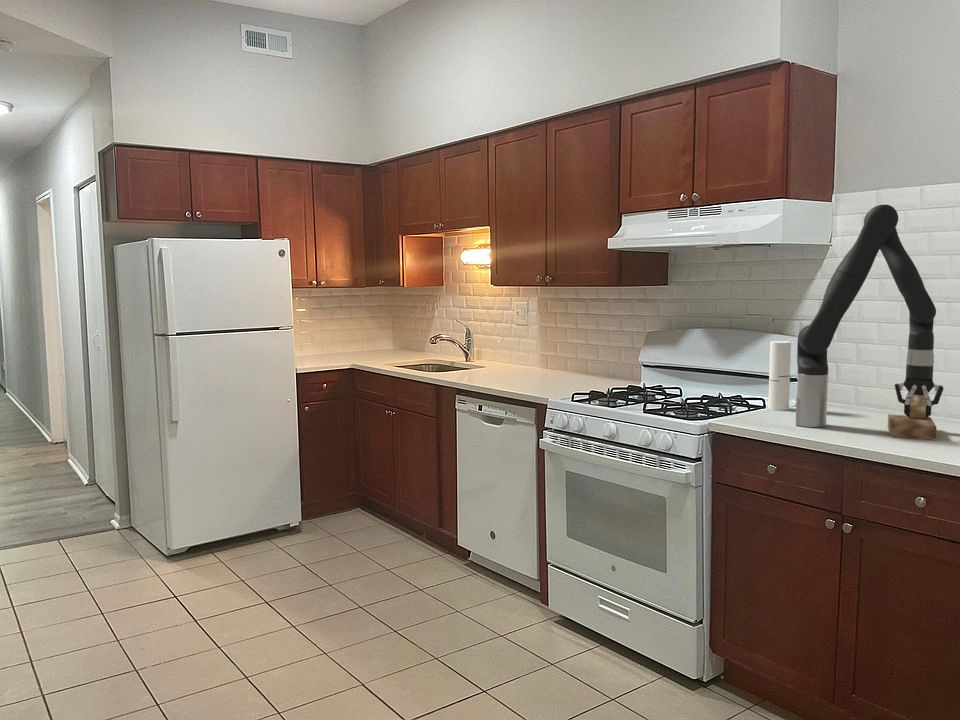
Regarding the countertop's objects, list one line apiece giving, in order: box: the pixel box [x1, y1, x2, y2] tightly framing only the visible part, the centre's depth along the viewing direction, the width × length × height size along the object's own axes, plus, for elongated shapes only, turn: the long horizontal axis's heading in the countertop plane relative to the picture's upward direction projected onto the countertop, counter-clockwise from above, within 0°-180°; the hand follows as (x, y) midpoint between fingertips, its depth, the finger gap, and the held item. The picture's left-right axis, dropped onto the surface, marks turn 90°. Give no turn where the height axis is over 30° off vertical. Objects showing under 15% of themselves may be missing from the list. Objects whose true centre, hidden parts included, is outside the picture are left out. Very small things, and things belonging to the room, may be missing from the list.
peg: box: [909, 395, 927, 419], centre depth 250 cm, size 5×5×11 cm
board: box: [887, 413, 937, 440], centre depth 247 cm, size 12×18×4 cm, turn 156°
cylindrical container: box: [767, 340, 792, 411], centre depth 291 cm, size 7×7×25 cm
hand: (917, 416), depth 250 cm, fingers closed on peg, 4 cm apart
